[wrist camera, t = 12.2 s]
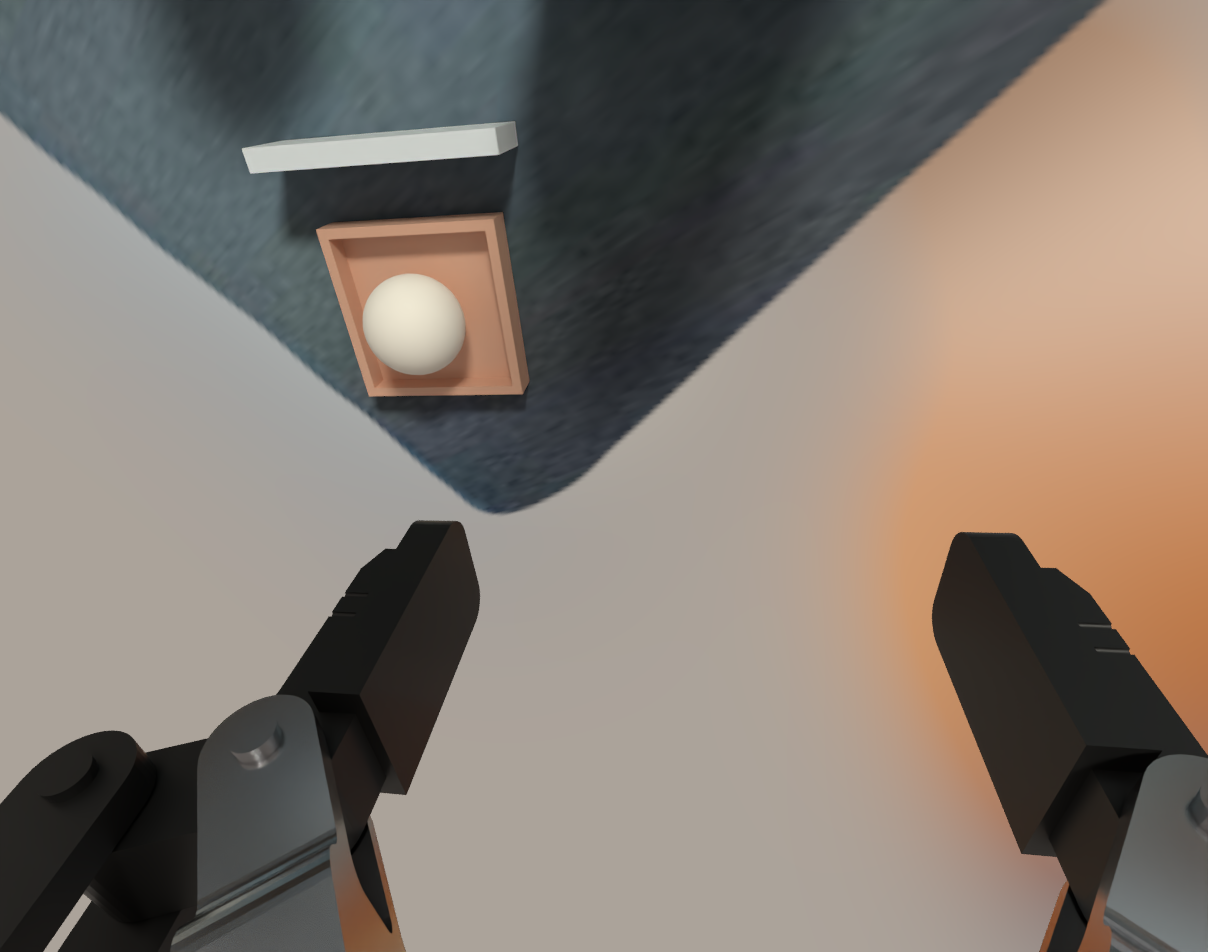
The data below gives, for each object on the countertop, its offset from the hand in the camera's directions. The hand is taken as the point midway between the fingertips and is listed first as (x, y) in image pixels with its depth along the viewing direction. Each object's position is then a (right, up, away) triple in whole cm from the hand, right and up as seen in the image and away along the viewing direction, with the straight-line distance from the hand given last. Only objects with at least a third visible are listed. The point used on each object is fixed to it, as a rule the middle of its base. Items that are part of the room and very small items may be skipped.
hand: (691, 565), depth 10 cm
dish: (-13, +13, +30) cm, 35 cm away
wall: (-13, +21, +25) cm, 35 cm away
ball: (-13, +12, +30) cm, 34 cm away
